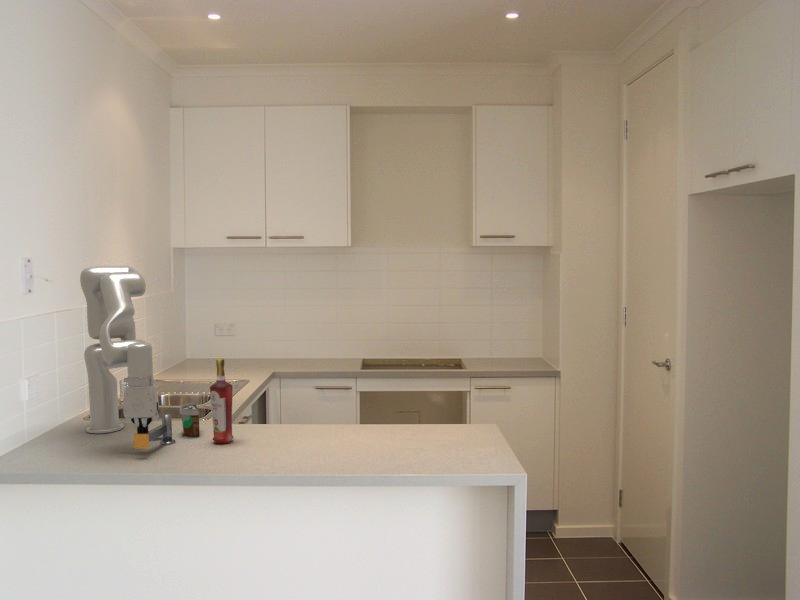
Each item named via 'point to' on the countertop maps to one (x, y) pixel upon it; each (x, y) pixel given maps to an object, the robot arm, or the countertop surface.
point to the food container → (190, 420)
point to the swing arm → (148, 437)
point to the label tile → (159, 438)
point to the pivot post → (168, 435)
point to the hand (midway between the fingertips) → (143, 438)
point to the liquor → (221, 406)
